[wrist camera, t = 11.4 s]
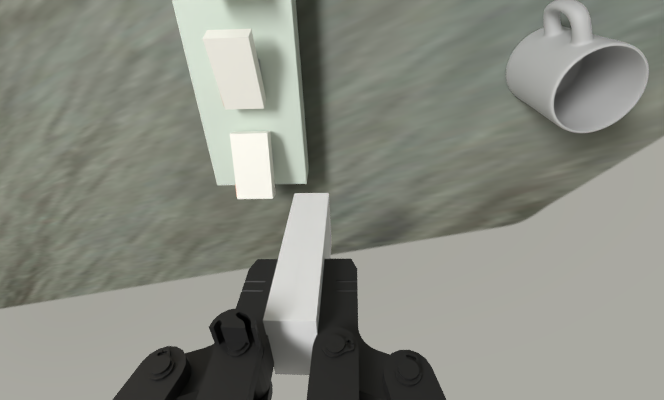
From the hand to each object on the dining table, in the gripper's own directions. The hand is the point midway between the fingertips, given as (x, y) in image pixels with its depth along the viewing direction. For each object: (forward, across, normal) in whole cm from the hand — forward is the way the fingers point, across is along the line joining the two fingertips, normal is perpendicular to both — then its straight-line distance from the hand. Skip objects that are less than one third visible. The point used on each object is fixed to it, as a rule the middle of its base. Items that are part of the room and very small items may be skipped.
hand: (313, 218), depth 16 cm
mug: (+32, +24, 0) cm, 40 cm away
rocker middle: (+25, -10, 0) cm, 27 cm away
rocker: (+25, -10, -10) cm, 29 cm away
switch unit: (+31, -10, 0) cm, 33 cm away
